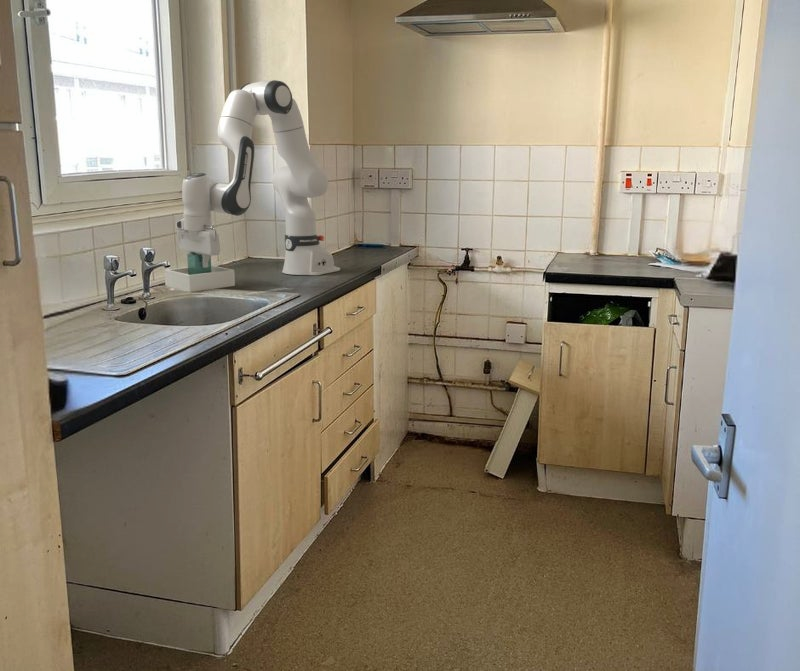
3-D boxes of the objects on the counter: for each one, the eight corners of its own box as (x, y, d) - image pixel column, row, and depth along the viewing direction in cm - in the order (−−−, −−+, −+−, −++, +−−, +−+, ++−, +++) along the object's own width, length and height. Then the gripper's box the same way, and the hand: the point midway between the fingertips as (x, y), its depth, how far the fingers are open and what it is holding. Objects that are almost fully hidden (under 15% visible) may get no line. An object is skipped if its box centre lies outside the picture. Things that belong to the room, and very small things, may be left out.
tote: (210, 282, 274) (209, 264, 273) (235, 287, 264) (234, 270, 263) (165, 287, 262) (164, 269, 261) (190, 294, 252) (189, 275, 251)
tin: (204, 273, 266) (203, 252, 264) (211, 274, 263) (210, 253, 261) (188, 275, 262) (187, 253, 260) (195, 276, 259) (194, 255, 257)
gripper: (224, 226, 254) (225, 268, 257) (189, 221, 267) (191, 261, 271) (206, 227, 249) (208, 271, 252) (172, 222, 263) (175, 263, 266)
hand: (199, 266), depth 262 cm, fingers closed on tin, 4 cm apart
